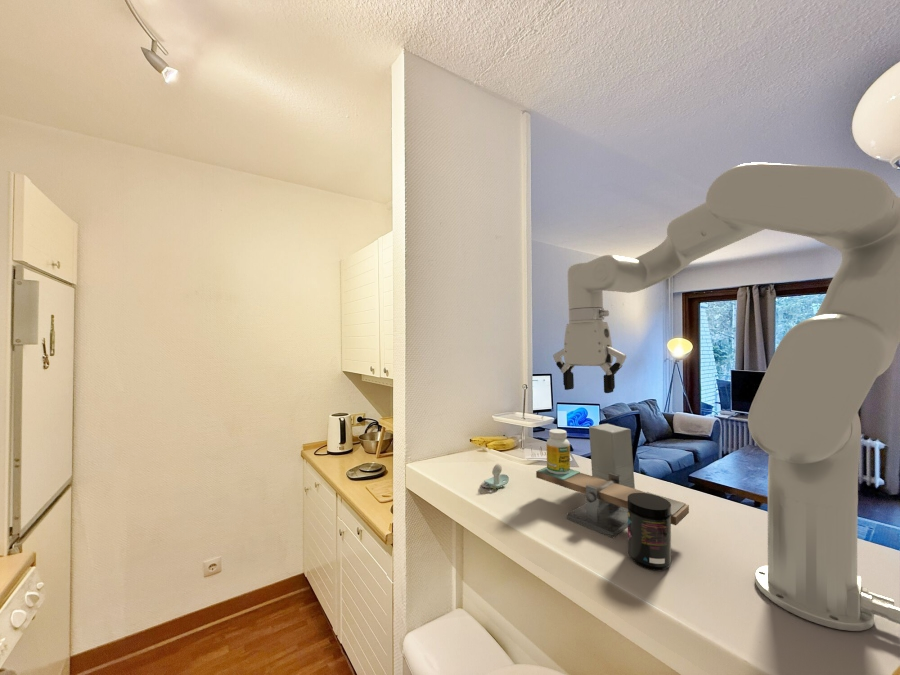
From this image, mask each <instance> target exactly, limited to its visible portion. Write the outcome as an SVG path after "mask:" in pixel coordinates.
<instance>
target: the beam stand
mask: <svg viewBox="0 0 900 675" xmlns="http://www.w3.org/2000/svg"><path fill="white" fill-rule="evenodd" d="M610 480H615V481H616V482H617V484H620V485H621V476H620V475H617V474H613V473H609V481H610ZM566 520H569V521H571V522H573V523H575V524H578V525H581V526H582V527H585V528H588V529H590V530H593V531H595V532H597V533H600V534H602V535H605V536H607V537H609V538H612V539H613V538H615V537H616V536H618V535H619V534H620V533H621V532H623V531H624V530H625V529H626V528H628V509H626V508H623V507H621V506H618V505H615V504H612V503H609V502H606V501H603V500H600V499H599V488H597V487H594V486H591V485H586V494H585V503H583V504H581V505H580V506H578V507H577V508H575V509H573V510H572V511H570V512H569V513H566Z"/></svg>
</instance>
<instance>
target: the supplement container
mask: <svg viewBox="0 0 900 675" xmlns="http://www.w3.org/2000/svg"><path fill="white" fill-rule="evenodd" d="M653 494H654V493H653ZM653 494H648V493H632V494H630V495H628V505H627V507H628V527H627V553H628V556H629V558H630V560H632V562H634V563H635V564H636V565H638V566H640V567H641V568H644V569H647V570H651V571H664V570H666V569H669V568H670V566H671V565H672V524H671V503H670V502H669V501H668V500H666V499H664V498H662V497H660V496H661V495H659V496H657V495H658V494H656V495H653Z"/></svg>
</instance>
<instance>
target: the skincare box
mask: <svg viewBox="0 0 900 675" xmlns="http://www.w3.org/2000/svg"><path fill="white" fill-rule="evenodd" d="M588 429H589V430H588V431H589V434H588V435H589V444H590V446H589V447H590V459H591V460H590V463H591V476H593V477H597V478H600V479H603V480H607V481H609V473H613V474H617V475H620V476H621V485H623V486H627V487H630V488H633V489H636V487H635V474H634V472H635V470H634V458H633V445H632V432H631V431H632V430H631V429H630V428H626V427H621V426H617V425H615V424H611V423H602V424H596V425H591V426H589V427H588Z"/></svg>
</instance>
